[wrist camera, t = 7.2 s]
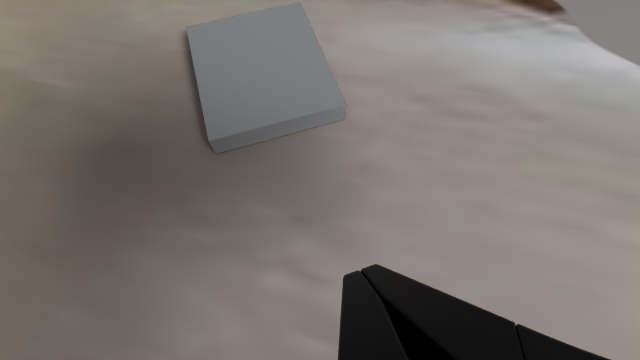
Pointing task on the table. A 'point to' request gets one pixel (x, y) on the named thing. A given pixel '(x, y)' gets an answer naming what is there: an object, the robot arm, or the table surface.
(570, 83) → the table surface
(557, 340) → the robot arm
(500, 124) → the table surface
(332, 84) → the grey tile
